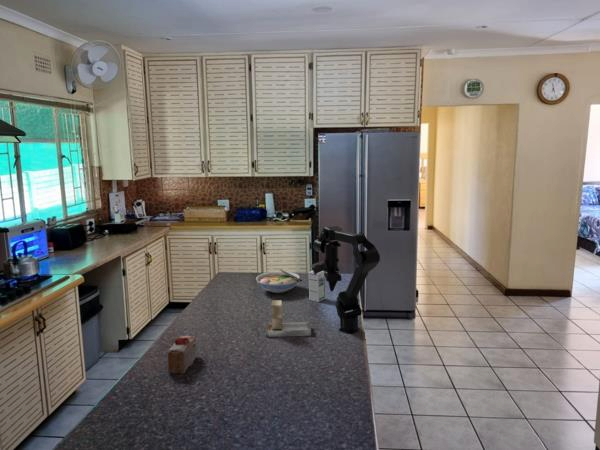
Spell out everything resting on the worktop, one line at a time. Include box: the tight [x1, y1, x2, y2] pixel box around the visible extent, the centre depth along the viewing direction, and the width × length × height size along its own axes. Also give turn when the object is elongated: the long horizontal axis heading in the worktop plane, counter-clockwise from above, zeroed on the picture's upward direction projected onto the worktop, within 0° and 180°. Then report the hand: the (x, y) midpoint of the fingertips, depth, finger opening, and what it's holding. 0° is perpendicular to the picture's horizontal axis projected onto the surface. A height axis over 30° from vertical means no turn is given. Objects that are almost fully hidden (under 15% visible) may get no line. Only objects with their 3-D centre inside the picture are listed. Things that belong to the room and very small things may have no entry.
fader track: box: [265, 321, 312, 338], centre depth 185 cm, size 18×8×2 cm, turn 92°
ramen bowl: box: [255, 268, 303, 294], centre depth 235 cm, size 25×23×8 cm
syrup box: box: [308, 270, 326, 303], centre depth 221 cm, size 6×6×14 cm
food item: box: [166, 334, 200, 374], centre depth 159 cm, size 14×8×10 cm, turn 176°
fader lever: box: [271, 299, 283, 330], centre depth 183 cm, size 4×6×11 cm
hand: (331, 291), depth 194 cm, fingers closed
